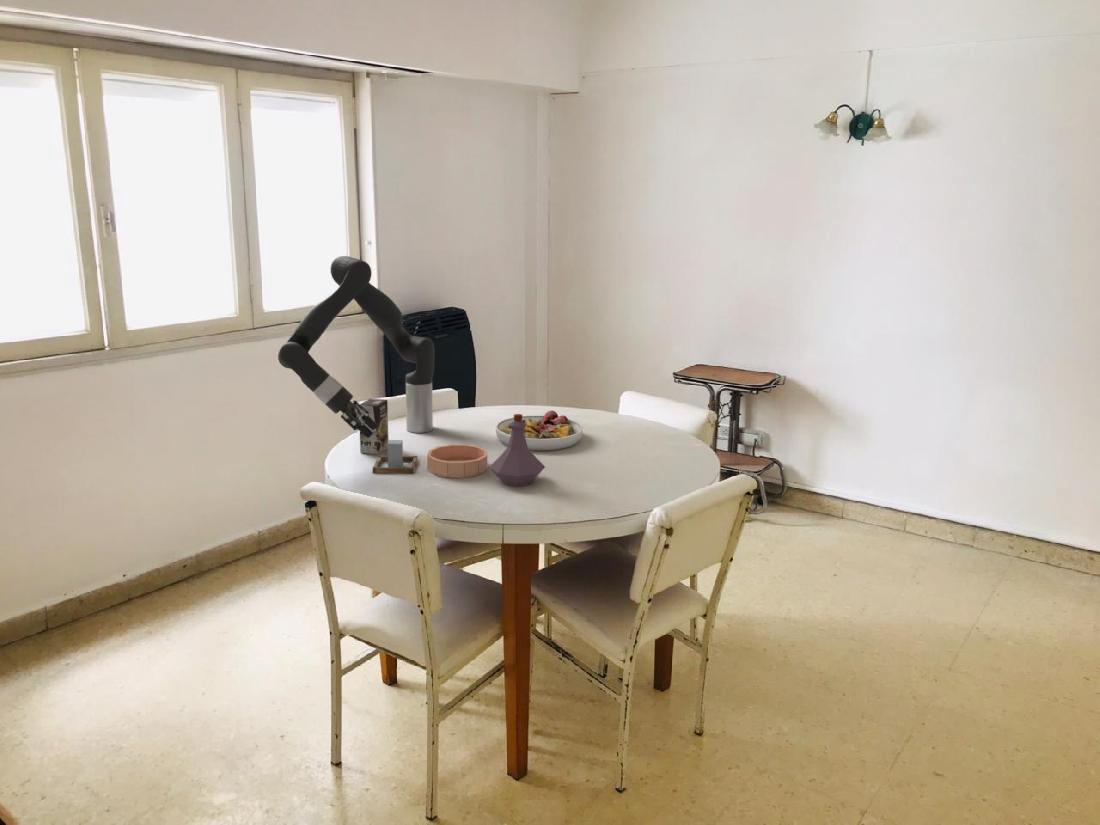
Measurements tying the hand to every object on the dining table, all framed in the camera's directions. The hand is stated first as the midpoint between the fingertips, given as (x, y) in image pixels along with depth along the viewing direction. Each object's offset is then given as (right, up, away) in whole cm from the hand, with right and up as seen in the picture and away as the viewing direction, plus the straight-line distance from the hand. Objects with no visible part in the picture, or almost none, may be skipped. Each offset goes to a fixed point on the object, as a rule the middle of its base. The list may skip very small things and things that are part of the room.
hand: (373, 431), depth 242 cm
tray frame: (+6, -11, +3) cm, 13 cm away
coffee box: (-4, -7, +19) cm, 21 cm away
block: (+6, -11, +3) cm, 13 cm away
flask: (+44, -14, -6) cm, 47 cm away
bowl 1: (+25, -11, +3) cm, 28 cm away
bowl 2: (+50, -4, +35) cm, 61 cm away
